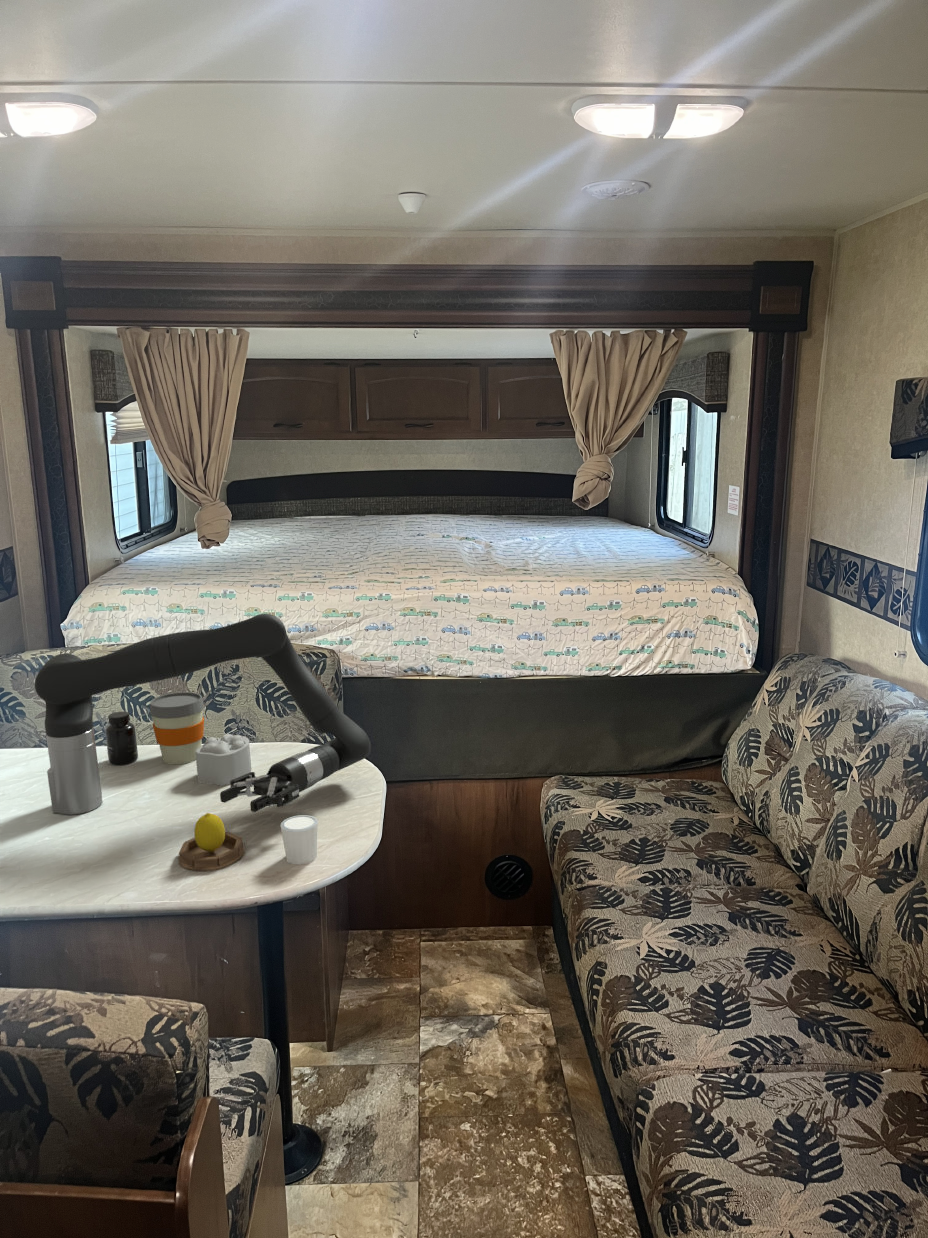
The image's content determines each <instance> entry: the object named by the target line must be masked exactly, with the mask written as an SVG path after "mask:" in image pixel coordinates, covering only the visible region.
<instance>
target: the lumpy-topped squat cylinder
mask: <svg viewBox="0 0 928 1238" xmlns="http://www.w3.org/2000/svg"><path fill="white" fill-rule="evenodd" d="M195 754H196V760H195V763H196V764H195V765H196V775H197V781H198V783H200V782H201V784H208V785H209V784H211V785H215V786H229V785H230V781H231V780H233V779H235V778H238V777H240V776H243V775H245V774H248V773H250V772H252V758H251V748H250V740H249V738H248V737H246V736H244V735H240V734H237V735H236V734H234V735H233V734H231V733H227V734H224V735H223V736H221V737H220V738H219V737H213V736H211V737H207V738H206V739H205V740H204V743H203V745H202V744H201V747H199V748H198V749H196V751H195Z"/></svg>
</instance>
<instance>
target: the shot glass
mask: <svg viewBox="0 0 928 1238" xmlns="http://www.w3.org/2000/svg"><path fill="white" fill-rule="evenodd" d="M318 824H319V820H318V819H317V818H316V816H312V815H307V814H302V815H301V814H299V815H294V816H290V817H288V818H285V819H284V820H283V821H282V822H280V830H281V835H282V841H283V848H284V852H285V858H286V859H285V860H286V861H287V862H288V863H290V864H293V865H305V864H309V863H311V862H313V861H315V859H316V858H317V857H318V856H317V855H318V831H319V830H318V827H319V825H318Z"/></svg>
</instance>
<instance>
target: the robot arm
mask: <svg viewBox="0 0 928 1238" xmlns="http://www.w3.org/2000/svg"><path fill="white" fill-rule="evenodd" d="M249 658H250V659H251V658H262V660H263V661H264V662H266V664H267V665H268V666H269V667H270V668H271V669H272V670H273V672H274V673H275V674H276V675H277V676H278V678H279V680H280V681H281V682H282V683H283V686H285V688H286V690H287V691H288V693H289V695H290V696H291V698H292V700H293V702H294V703H295V705H296V706H297V707H298V709H299V710H300V712H301V713H302V714H303V716H304V717H305V718H306V721H307V722H308V723H309V724H310V726H311V727H312V729H314V731H315V732H317V733H318V734H321V735H324V734H330V735H332V736H333V737H334V738H333V739H331V740H328V741H326V742H325V743H323V744H320V745H317V746H314V747H312V748H309V749H308V750H305V751H303V752H299V753H296V754H294V755H291V756H288V757H287V758H285V759H283V760H280V761H277V762H276V763H274V764H272V765H271V766H270V767H269V769H268V771H267V772H266V774H263V775H259V776H256V773H255V772H254V771H251V772H250V773H248V774H245V775H243V776H240V777H238V778H235V779H233V780H231V781H230V786H229V787H228V788H226V789H224V790H222V791H220V793H219V796H220V797H219V798H220V802H222V803H228V802H229V801H231V800H234V799H235V798H238V797H240V796H241V797H242V796H247V797H248V798H250V797H257V796H259V797H257V798H255V799H253V800H251V801H250V804H249V806H250V811H251V812H252V813H256V812H259V811H261V810H263V809H264V808H267V807H273V806H275V805H276V807H277V808H282V807H284V806H286V805H288V804H289V803H291V802H293V801H295V800H296V799H298V798H299V797H300V793H302V792H304V791H305V790H308V789H309V788H311V787H313V786H314V785H316V784H317V783H319V782H320V781H322V780H324V779H326V778H328V777H330V776H332V775H333V774H334V773H336V772H339V771H340V770H344V769H345V768H347V767H348V768H349V766H352V765H353V764H356V763H358V762H360V761H362V760H364V759H366V758H367V757H368V756H369V755H370V753H371V748H372V746H371V745H372V744H371V740H370V738H369V736H368V734H367V733H366V731H364V729H363V728H361V727H360V725H358V724H357V723H356V722H355V721H353V719H351V718H350V717H349V716H348V715H346V714H345V713H344V712H342V711H341V710H340V708H339V707H338V705H337V704H336V702H335V701H334V700H333V699H332V697H331V696H330V694H329V693H328V691H327V690H326V689H325V688H324V687H323V685H322V684H321V683H320V682H319V680H317V678H316V677H315V675H314V674H313V673H312V672H311V670H309V668H308V667H307V666H306V664H305V663H304V662H303V660H302V659H301V657H300V656H299V654H298V653H297V651H296V649H295V647H294V646H293V643H292V642H291V639H290V638H289V635H288V634H287V629H286V626H285V625H284V623H283V621H282V620H281V619H280V618H279V617H277V616H276V615H273V614H271V613H259V614H257V615H254V616H252V617H250V618H246V619H244V620H241V621H238V622H235V623H231V624H228V625H225V626H222V627H216V628H212V629H211V628H210V629H200V630H199V629H196V630H187V631H180V632H173V633H168V634H162V635H159V636H158V635H157V636H153V637H150V638H146V639H143V640H140V641H137V642H135V643H131V644H130V645H128V646H127V645H126V646H124V647H122V648H120V649H117V650H115V651H113V652H110V653H107V654H105V655H102V656H98V657H92V658H88V659H82V658H80V657H79V656H77V655H75V654H72V653H60V654H56V655H54V656H52V657H51V658H49V659H48V660H46V662H45V663H44V665H43V666H42V667H41V668H40V670H39V671H38V673H37V675H36V677H35V679H34V680H35V681H34V691H35V692H36V694H37V695H38V697H39V698H40V699H41V700H43V701H45V717H44V718H45V719H44V730H45V737H46V745H47V753H48V759H49V765H50V766H49V769H48V770H47V771H46V774H47V779H48V787H49V796H50V803H51V808H52V809H51V810H52V813H53V814H56V813H57V814H62V815H79V814H83V813H88V812H91V811H93V810H95V809H97V808H99V807H100V806H102V803H103V792H102V785H101V779H100V778H101V777H100V776H101V775H100V769H99V763H98V761H99V760H98V754H97V745H96V738H95V737H96V736H95V729H94V721H93V719H94V717H93V715H94V703H93V696H94V695H97V694H100V693H104V692H107V691H112V690H115V689H120V688H122V689H123V688H127V687H132V686H137V685H139V686H140V685H143V684H148V683H153V682H159V681H163V680H168V679H171V678H177V677H181V676H185V675H188V674H192V673H195V672H198V671H201V670H204V669H206V668H209V667H212V666H216V665H219V664H221V663H226V662H229V661H234V660H243V659H249ZM251 788H253V791H252V790H251Z"/></svg>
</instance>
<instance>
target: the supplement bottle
mask: <svg viewBox="0 0 928 1238" xmlns="http://www.w3.org/2000/svg"><path fill="white" fill-rule="evenodd" d="M130 716H131V715H130V712H128V711H117V712H116V711H115V712H112V713H110V714H108V717H107V718H108V725H107V726H106V728H105V729H104V730H105V732H104V733H105V741H106V747H107V749H106V751H107V757H108V758H107V759H108V762H109V764H110V765H112V766H126V765H130V764H133V763H134V762H136V761H137V760H138V759H139V751H138V743H137V742H138V741H137V733H136V732H137V731H136V725H135V724H134V723H133V722H131V717H130Z"/></svg>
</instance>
